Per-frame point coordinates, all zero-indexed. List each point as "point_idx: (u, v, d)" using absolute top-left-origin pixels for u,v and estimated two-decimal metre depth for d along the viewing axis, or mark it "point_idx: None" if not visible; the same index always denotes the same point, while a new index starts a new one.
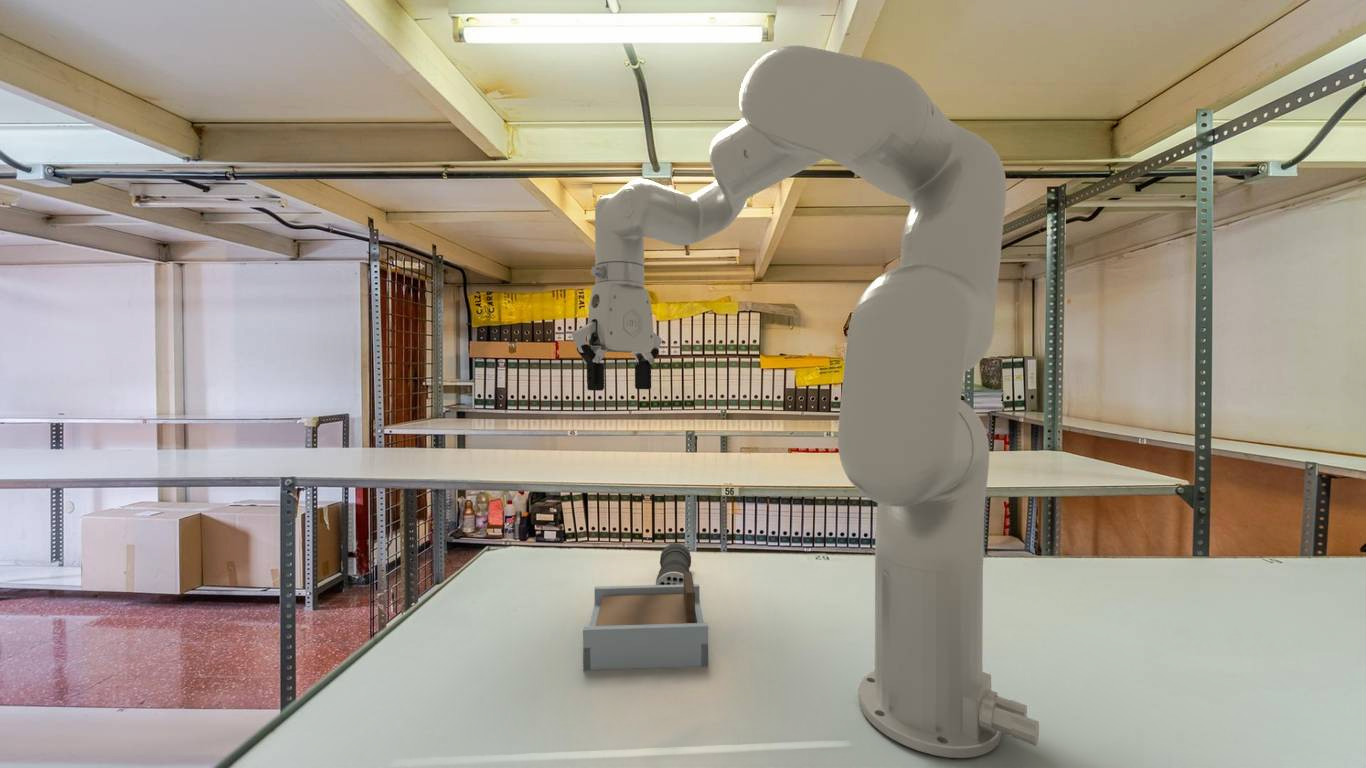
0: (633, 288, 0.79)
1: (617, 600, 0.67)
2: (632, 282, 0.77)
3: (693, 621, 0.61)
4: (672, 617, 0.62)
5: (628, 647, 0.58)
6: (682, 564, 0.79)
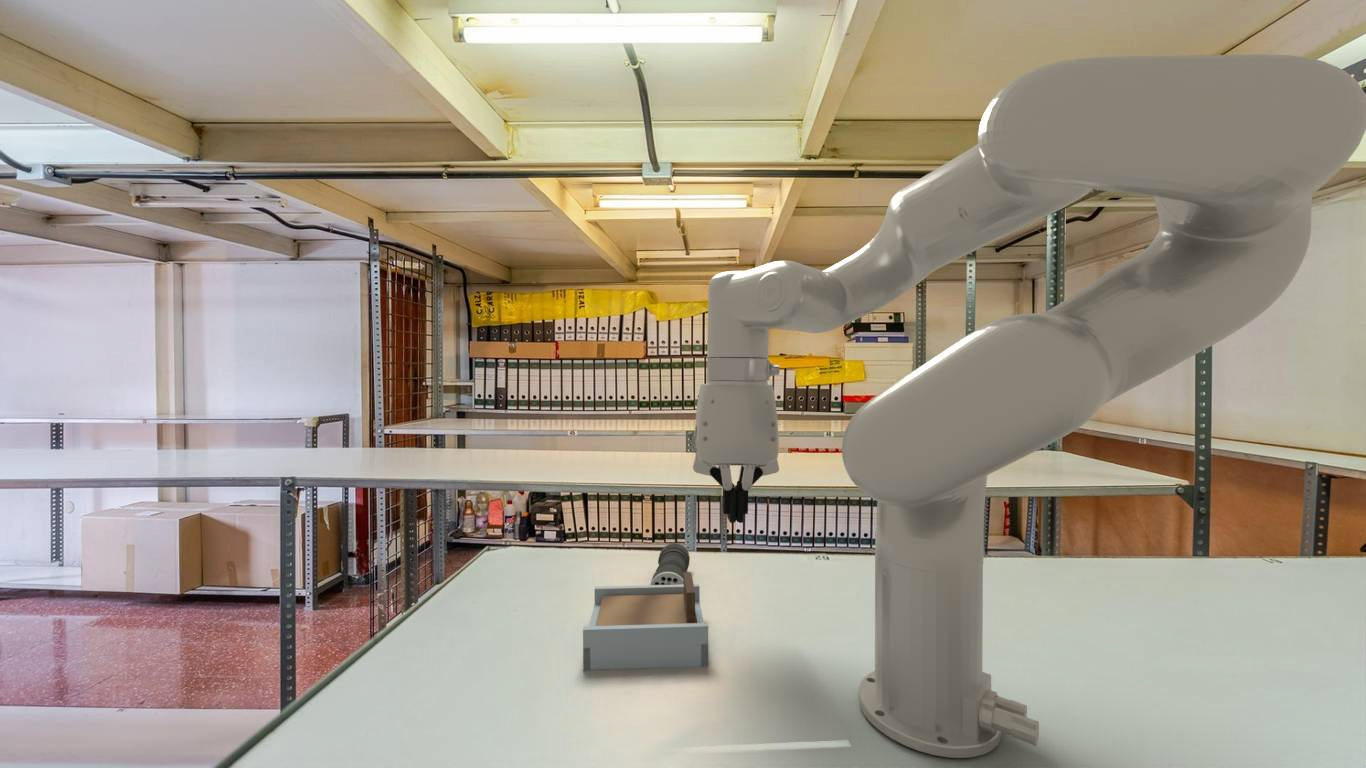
0: None
1: (617, 600, 0.67)
2: None
3: (693, 621, 0.61)
4: (672, 617, 0.62)
5: (628, 647, 0.58)
6: (678, 564, 0.79)
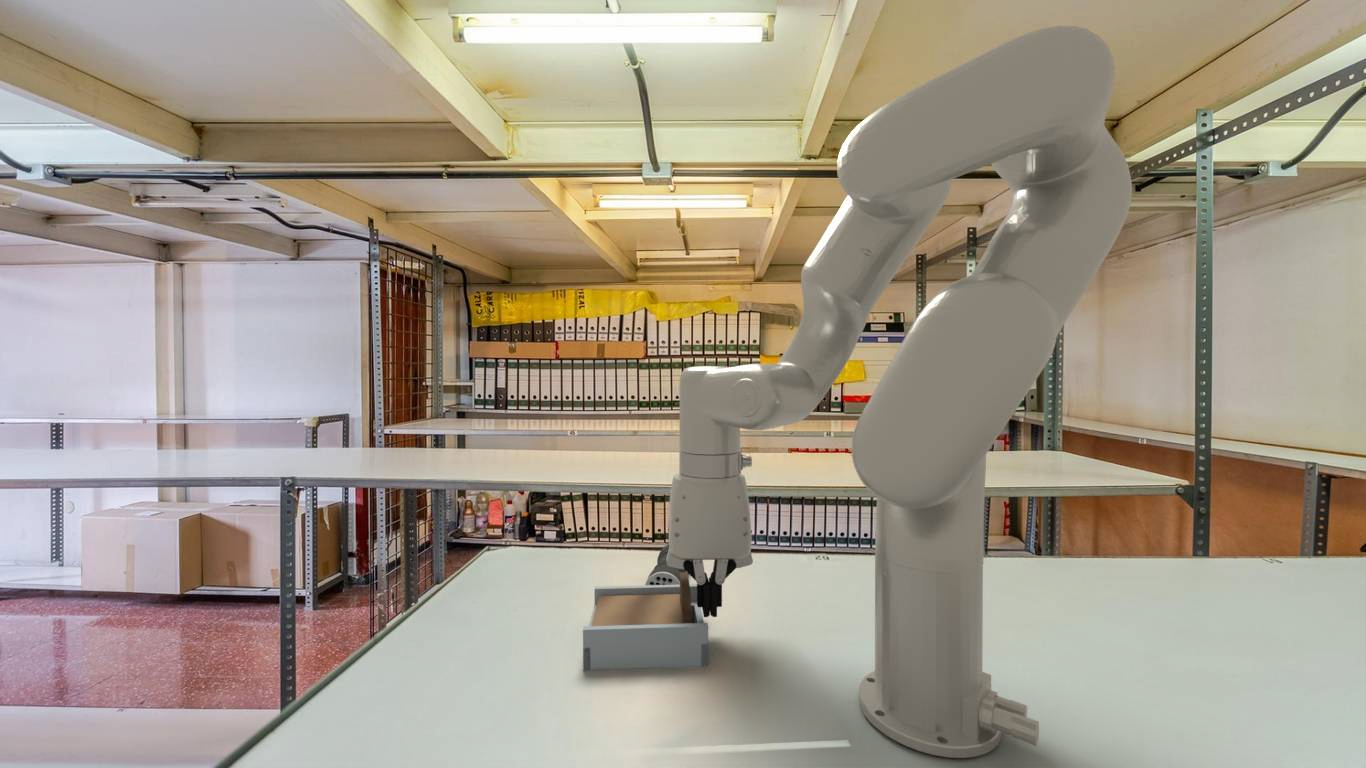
0: None
1: (613, 600, 0.67)
2: None
3: (689, 621, 0.61)
4: (668, 617, 0.62)
5: (628, 647, 0.58)
6: None
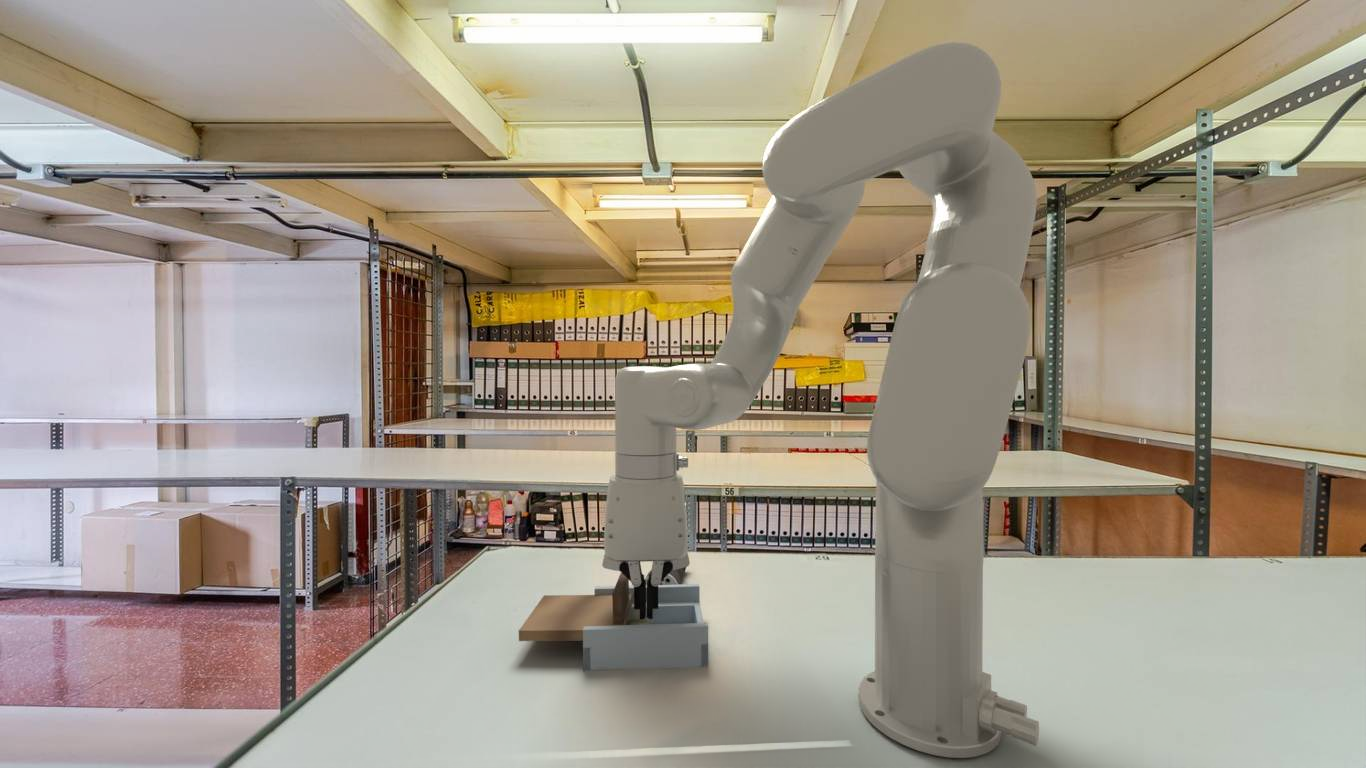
0: None
1: (556, 600, 0.68)
2: None
3: (619, 622, 0.61)
4: (601, 618, 0.62)
5: (628, 647, 0.58)
6: None
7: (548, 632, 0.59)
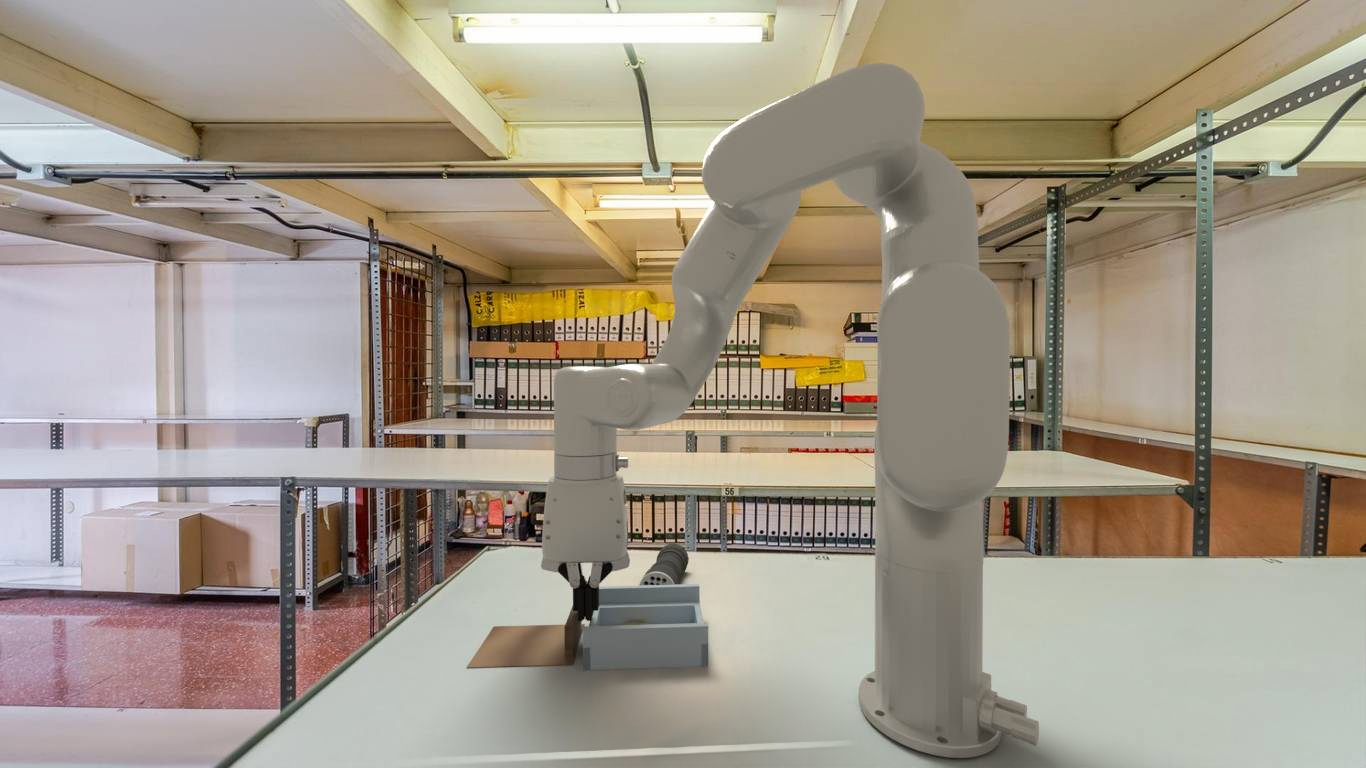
0: None
1: (506, 631, 0.66)
2: None
3: (571, 656, 0.60)
4: (552, 651, 0.62)
5: (628, 647, 0.58)
6: (671, 565, 0.79)
7: None
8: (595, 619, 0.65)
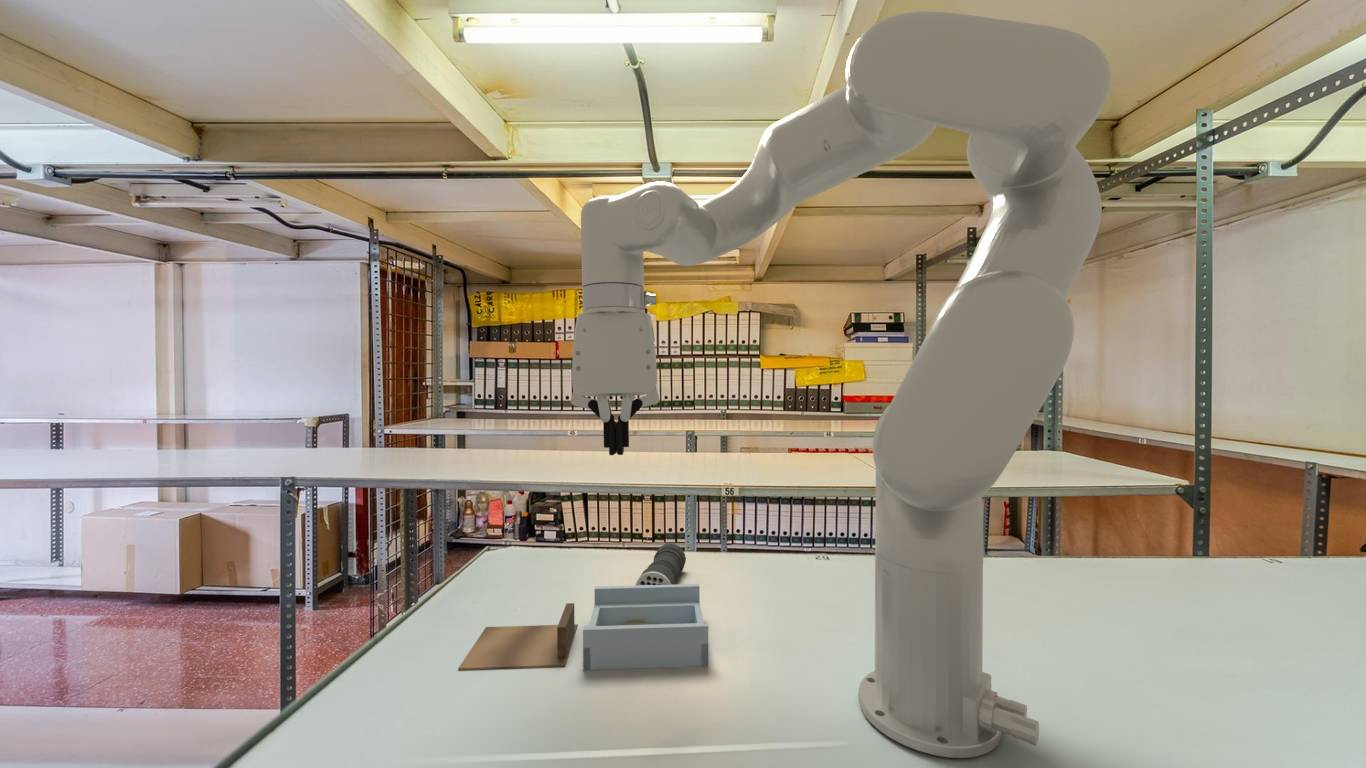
0: None
1: (498, 632, 0.66)
2: None
3: (564, 656, 0.60)
4: (545, 652, 0.61)
5: (628, 647, 0.58)
6: (668, 564, 0.79)
7: None
8: (595, 619, 0.65)
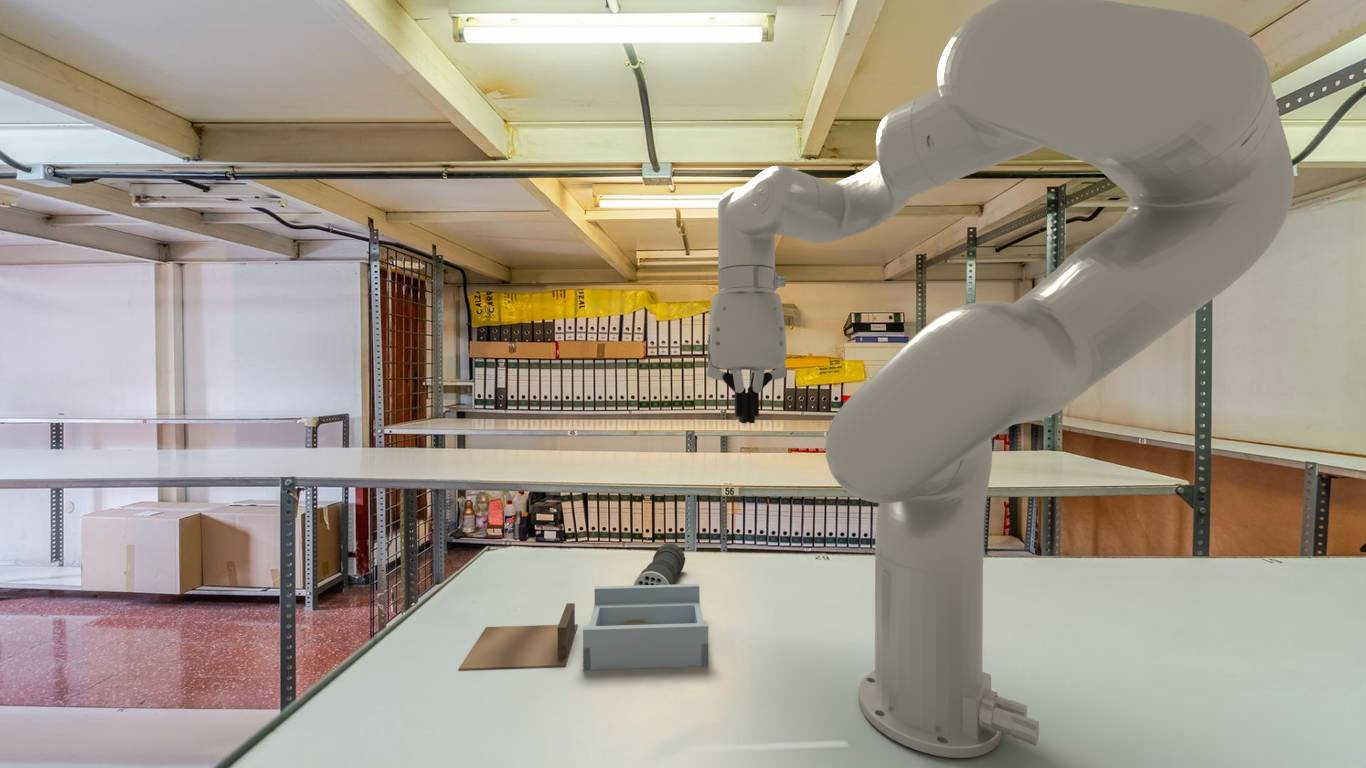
0: None
1: (498, 632, 0.66)
2: None
3: (564, 656, 0.60)
4: (545, 652, 0.61)
5: (628, 647, 0.58)
6: (666, 565, 0.79)
7: None
8: (595, 619, 0.65)
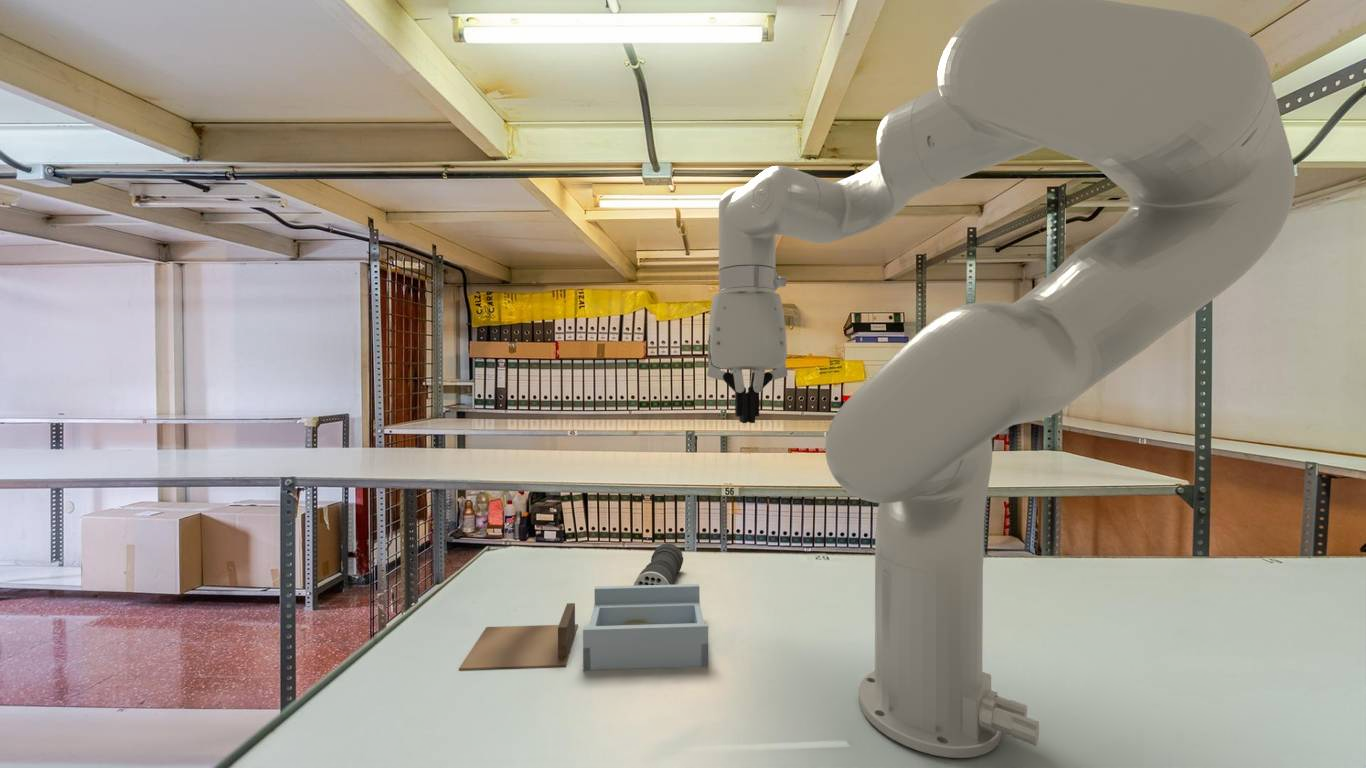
0: None
1: (499, 632, 0.66)
2: None
3: (564, 656, 0.60)
4: (546, 652, 0.61)
5: (628, 647, 0.58)
6: (666, 564, 0.79)
7: None
8: (595, 619, 0.65)
